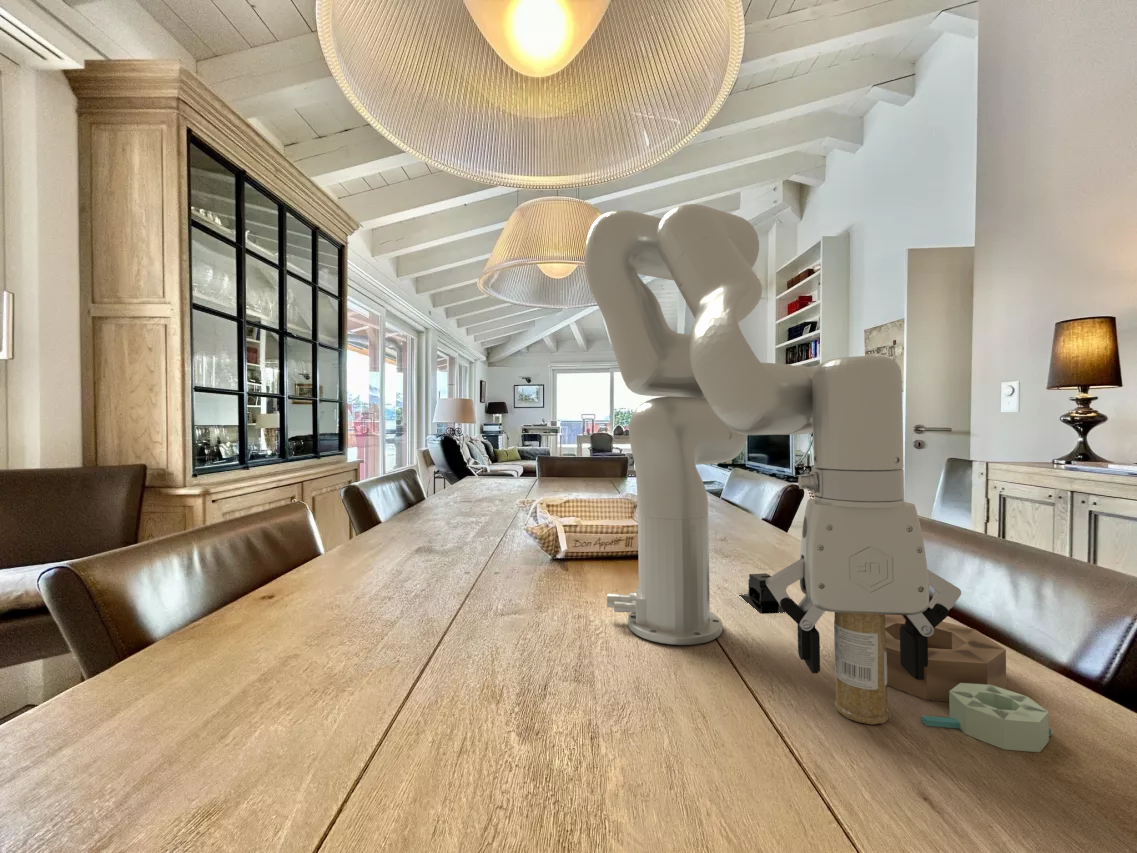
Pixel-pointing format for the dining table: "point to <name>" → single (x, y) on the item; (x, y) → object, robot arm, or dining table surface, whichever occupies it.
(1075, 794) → the dining table surface
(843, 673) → the sprinkles bottle
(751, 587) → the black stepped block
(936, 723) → the teal bar
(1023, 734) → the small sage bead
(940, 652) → the brown octagonal holder
